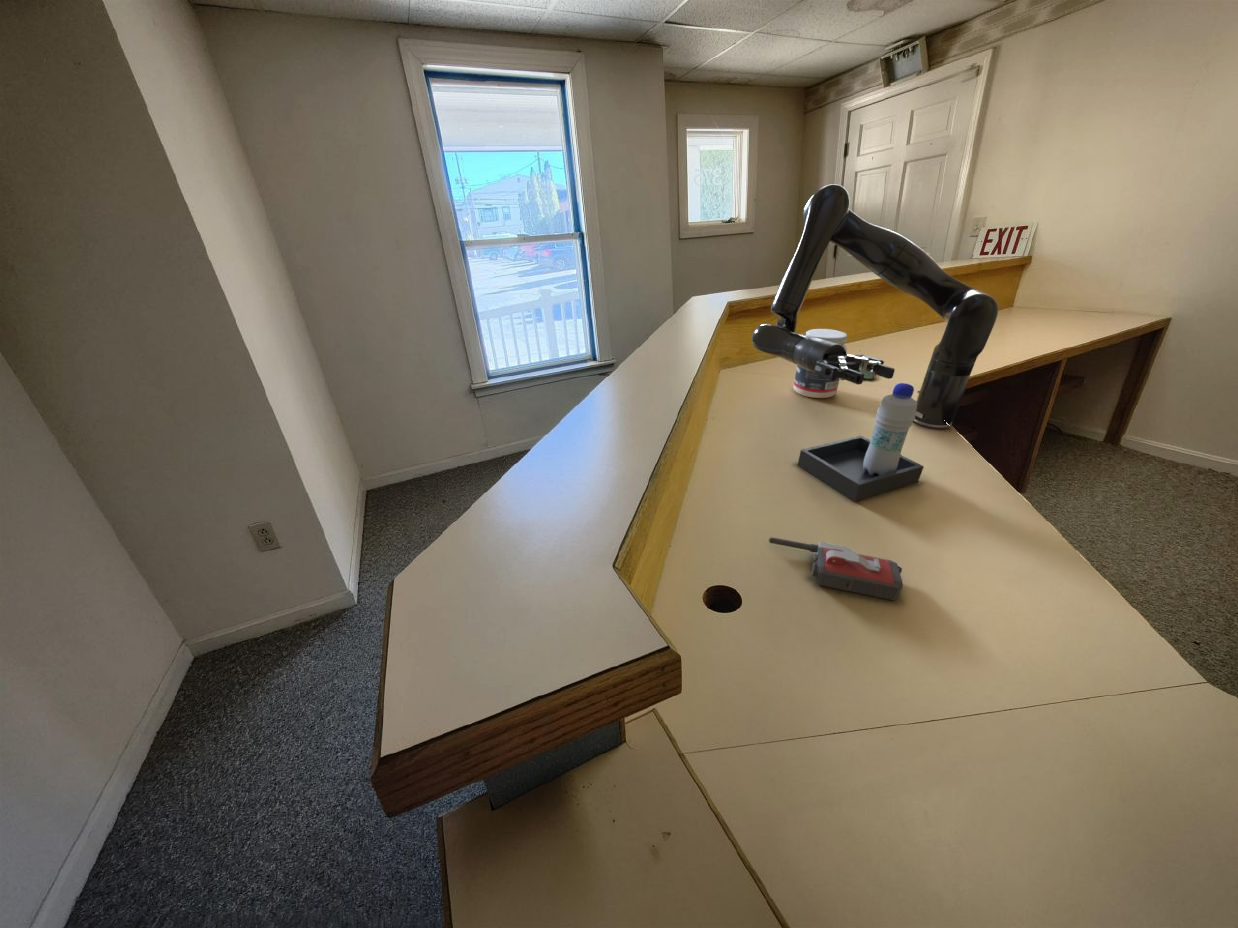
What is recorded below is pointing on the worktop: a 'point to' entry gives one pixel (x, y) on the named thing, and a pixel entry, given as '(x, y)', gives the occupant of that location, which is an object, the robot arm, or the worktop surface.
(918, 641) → the worktop surface
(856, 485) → the tray
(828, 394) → the supplement tub
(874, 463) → the bottle
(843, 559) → the walkie-talkie
